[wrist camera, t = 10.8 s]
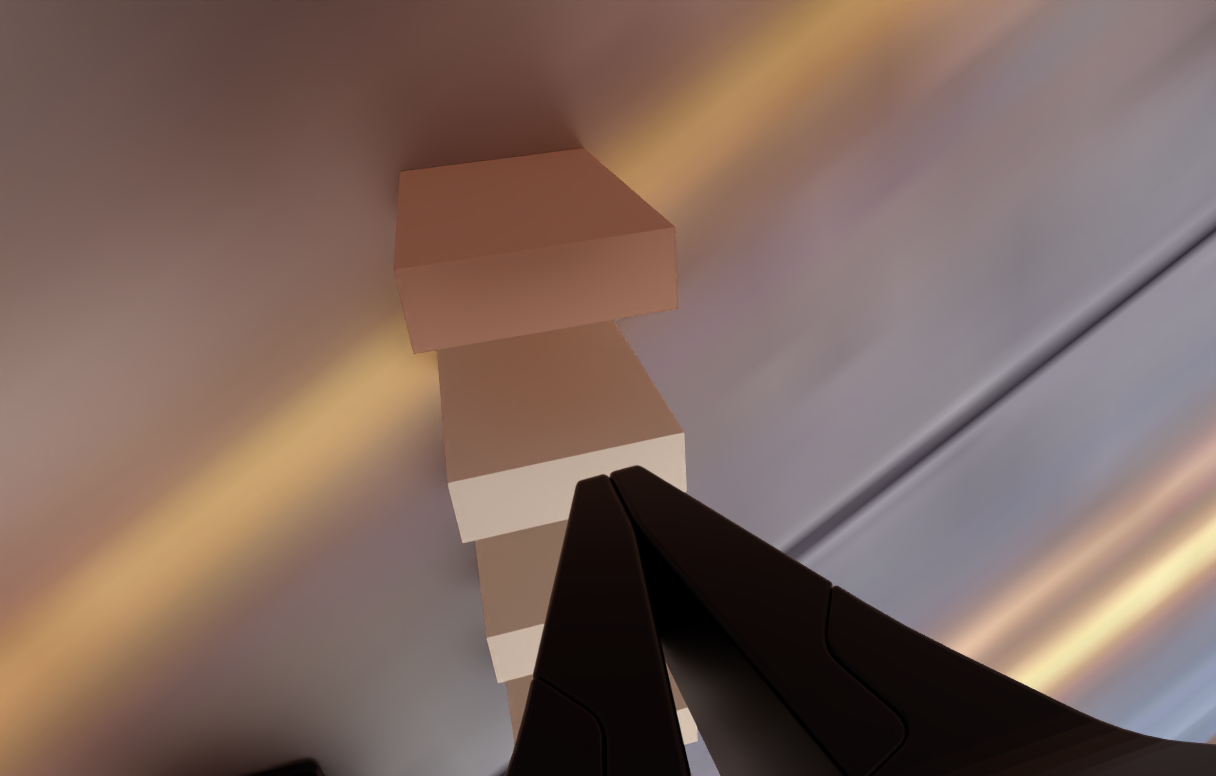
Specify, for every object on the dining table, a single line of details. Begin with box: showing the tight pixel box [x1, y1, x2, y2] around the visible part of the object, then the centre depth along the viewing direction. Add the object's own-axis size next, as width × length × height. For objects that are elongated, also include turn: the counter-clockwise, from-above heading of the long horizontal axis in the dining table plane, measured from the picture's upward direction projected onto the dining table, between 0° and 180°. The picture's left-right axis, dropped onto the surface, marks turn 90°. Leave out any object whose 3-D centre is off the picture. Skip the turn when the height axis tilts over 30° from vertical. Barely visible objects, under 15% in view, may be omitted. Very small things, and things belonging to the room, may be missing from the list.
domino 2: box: [437, 320, 687, 543], centre depth 19 cm, size 5×2×8 cm, turn 95°
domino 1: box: [394, 148, 678, 354], centre depth 16 cm, size 5×2×8 cm, turn 94°
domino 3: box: [475, 519, 568, 683], centre depth 21 cm, size 5×2×8 cm, turn 95°
